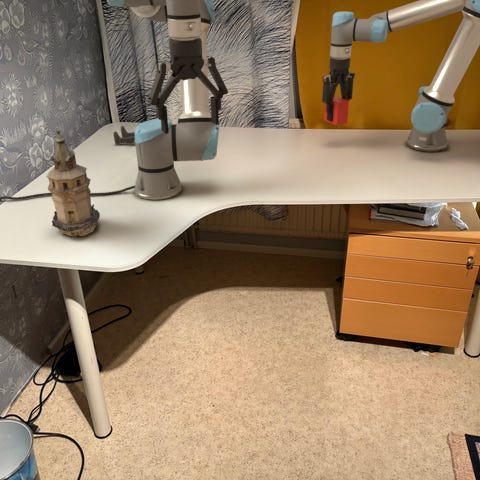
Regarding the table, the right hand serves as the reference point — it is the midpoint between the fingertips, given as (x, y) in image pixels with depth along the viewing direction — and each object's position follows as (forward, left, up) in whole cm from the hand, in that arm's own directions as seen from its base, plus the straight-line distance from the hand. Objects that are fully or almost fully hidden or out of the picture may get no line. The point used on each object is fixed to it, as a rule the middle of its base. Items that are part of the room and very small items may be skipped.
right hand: (335, 119), depth 209 cm
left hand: (+86, +26, +21) cm, 92 cm away
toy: (+52, -52, -11) cm, 74 cm away
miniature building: (+108, -2, -11) cm, 109 cm away
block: (0, 0, -1) cm, 1 cm away
